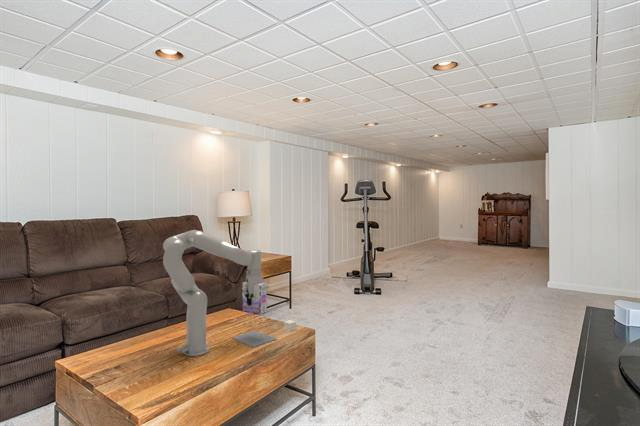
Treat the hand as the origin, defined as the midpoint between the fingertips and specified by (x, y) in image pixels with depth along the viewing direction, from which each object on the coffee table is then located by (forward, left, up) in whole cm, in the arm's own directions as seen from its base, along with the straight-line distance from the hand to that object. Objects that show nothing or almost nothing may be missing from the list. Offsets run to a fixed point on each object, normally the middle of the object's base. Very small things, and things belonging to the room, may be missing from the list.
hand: (254, 303), depth 200 cm
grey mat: (0, 0, -20) cm, 20 cm away
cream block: (+24, -3, -20) cm, 31 cm away
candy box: (0, 0, -5) cm, 5 cm away
